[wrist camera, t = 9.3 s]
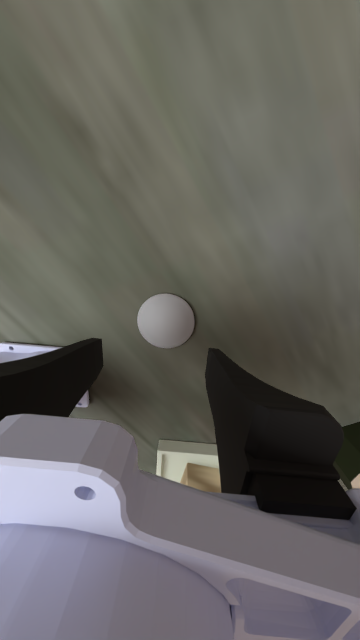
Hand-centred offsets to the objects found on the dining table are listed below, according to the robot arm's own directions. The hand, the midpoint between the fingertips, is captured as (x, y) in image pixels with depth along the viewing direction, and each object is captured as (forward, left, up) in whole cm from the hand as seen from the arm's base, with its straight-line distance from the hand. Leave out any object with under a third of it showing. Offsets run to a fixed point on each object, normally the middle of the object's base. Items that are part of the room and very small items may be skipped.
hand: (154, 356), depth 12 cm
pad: (0, 0, -7) cm, 7 cm away
